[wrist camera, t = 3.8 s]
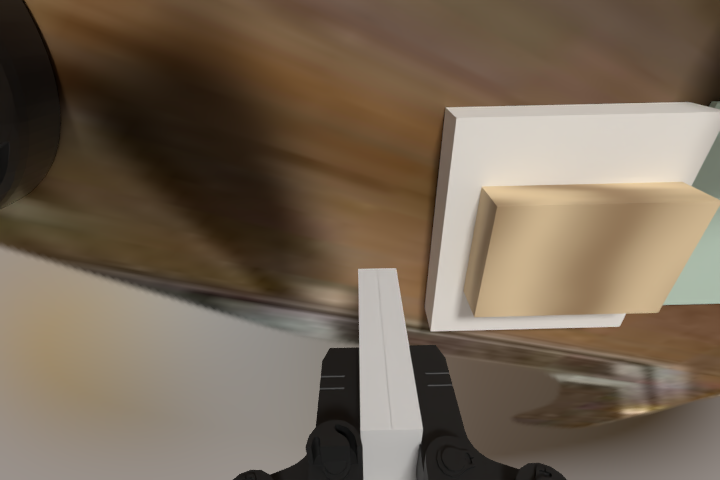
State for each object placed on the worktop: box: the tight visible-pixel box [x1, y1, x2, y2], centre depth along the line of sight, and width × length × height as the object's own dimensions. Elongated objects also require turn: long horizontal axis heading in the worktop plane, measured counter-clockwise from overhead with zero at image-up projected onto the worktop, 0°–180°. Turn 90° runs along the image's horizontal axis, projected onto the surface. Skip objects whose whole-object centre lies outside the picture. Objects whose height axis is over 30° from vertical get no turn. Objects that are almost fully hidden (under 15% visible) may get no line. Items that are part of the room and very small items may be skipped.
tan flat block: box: [463, 182, 720, 317], centre depth 17 cm, size 9×6×2 cm, turn 91°
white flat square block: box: [425, 102, 720, 331], centre depth 18 cm, size 11×12×2 cm
